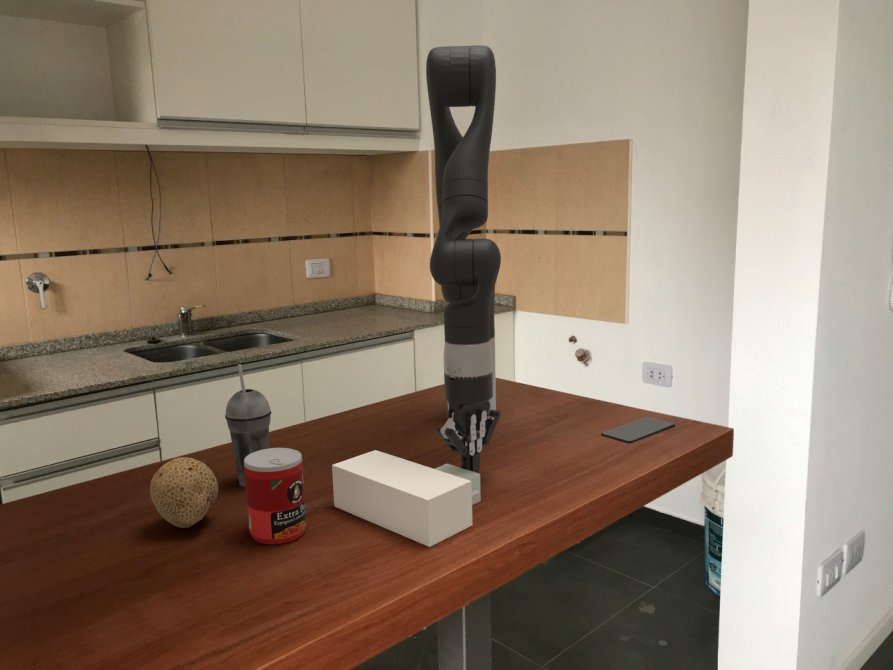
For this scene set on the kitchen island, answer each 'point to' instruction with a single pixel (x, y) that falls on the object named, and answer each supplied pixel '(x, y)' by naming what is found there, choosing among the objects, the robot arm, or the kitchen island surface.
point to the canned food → (275, 495)
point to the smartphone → (638, 429)
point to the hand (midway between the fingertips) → (470, 474)
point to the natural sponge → (183, 491)
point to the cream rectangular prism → (404, 496)
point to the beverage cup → (247, 424)
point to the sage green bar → (462, 474)
